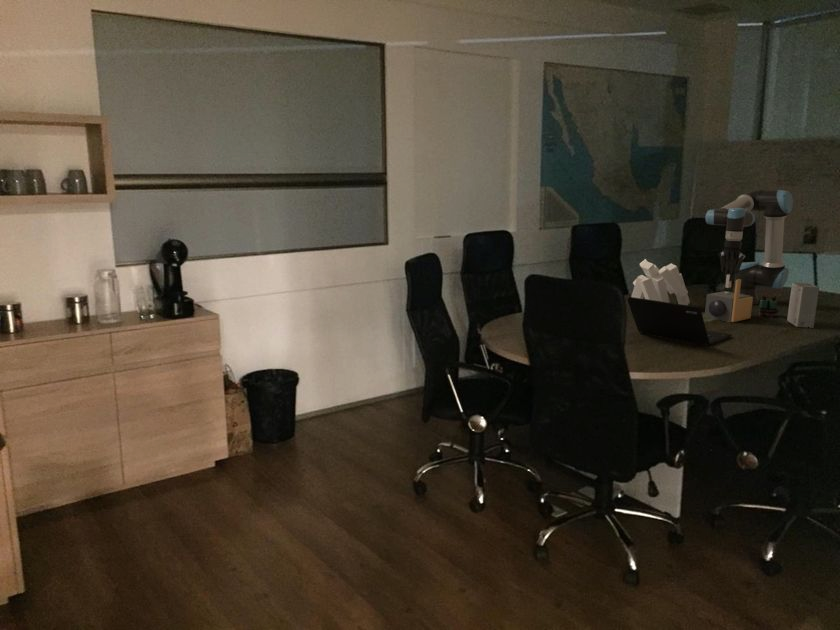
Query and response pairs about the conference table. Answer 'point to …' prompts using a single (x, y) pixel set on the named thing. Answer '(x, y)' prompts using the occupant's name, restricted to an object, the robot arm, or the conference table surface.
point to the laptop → (672, 321)
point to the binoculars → (768, 307)
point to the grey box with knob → (721, 305)
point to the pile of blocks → (660, 284)
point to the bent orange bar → (741, 305)
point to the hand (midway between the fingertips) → (728, 287)
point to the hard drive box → (803, 304)
